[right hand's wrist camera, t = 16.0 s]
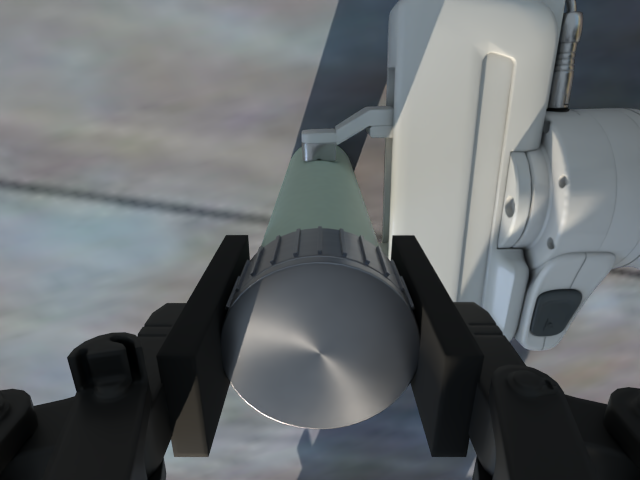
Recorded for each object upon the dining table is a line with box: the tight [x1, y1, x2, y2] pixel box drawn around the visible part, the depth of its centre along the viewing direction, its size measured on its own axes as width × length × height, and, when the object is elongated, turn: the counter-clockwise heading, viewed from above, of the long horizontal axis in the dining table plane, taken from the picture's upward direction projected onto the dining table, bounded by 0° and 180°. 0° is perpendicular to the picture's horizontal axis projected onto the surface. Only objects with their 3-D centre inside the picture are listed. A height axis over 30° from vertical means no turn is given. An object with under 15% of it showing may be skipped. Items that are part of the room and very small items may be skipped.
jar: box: [261, 145, 379, 247], centre depth 20 cm, size 4×4×20 cm
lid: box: [220, 226, 420, 429], centre depth 11 cm, size 5×5×2 cm
